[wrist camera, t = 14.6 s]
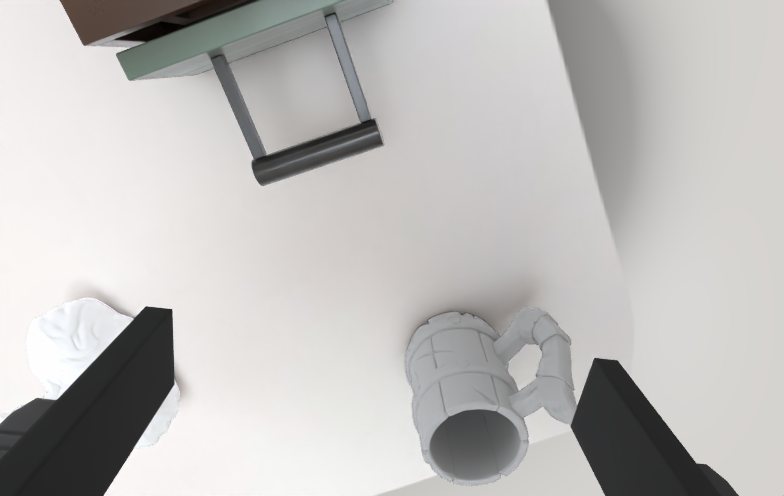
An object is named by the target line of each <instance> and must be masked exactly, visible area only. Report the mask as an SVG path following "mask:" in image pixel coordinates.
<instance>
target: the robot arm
mask: <svg viewBox="0 0 784 496" xmlns="http://www.w3.org/2000/svg"><path fill="white" fill-rule="evenodd" d="M174 385H175V382H174V350H173V318H172V309H165V308H156V307H147V306H146V307H145V308H144V309H143V310H142V311H141V312H140V313H139V314H138V315H137V316H136V317H135V318H134V319H133V321H132V322H131V323H130V324H129V325H128V326H127V327H126V328H125V329H124V330H123V331H122V332H121V333H120V334H119V335H118V336H117V337H116V338H115V339H114V340H113V341H112V343H111V344H110V345H109V346H108V347H107V348H106V349H105V350H104V351H103V352H102V353H101V354H100V355H99V356H98V357H97V358H96V359H95V360H94V361H93V362H92V363H91V365H90V366H89V367H88V368H87V369H86V370H85V371H84V372H83V373H82V374H81V375H80V376H79V377H78V378H77V379H76V380H75V381H74V382H73V383H72V384H71V385H70V386H69V388H68V389H67V390H66V391H65V392H64V393H63V394H62V395H61V396H60V397H59V398H58V399H57V400H51V399H42V398H36V399H34V400H33V401H31V402H29V403H27V404H26V405H24V406H22V407H20V408H19V409H17V410H15V411H13V412H12V413H11V414H10V415H9V416H8V417H7V418H6V419H4V420H3V421H2V422H1V423H0V496H104V494H105V492H106V491H107V489H108V488H109V486H110V485H111V483H112V481H113V480H114V478H115V477H116V475H117V474H118V472H119V471H120V469H121V467H122V466H123V464H124V463H125V461H126V460H127V458H128V456H129V455H130V453H131V452H132V450H133V449H134V447H135V446H136V444H137V442H138V441H139V439H140V438H141V436H142V435H143V433H144V431H145V430H146V428H147V427H148V425H149V424H150V422H151V421H152V419H153V417H154V416H155V414H156V413H157V411H158V410H159V408H160V407H161V405H162V403H163V402H164V400H165V399H166V397H167V396H168V394H169V392H170V391H171V389H172V388H173V386H174ZM571 428H572V430H573V432H574V434H575V436H576V438H577V440H578V442H579V444H580V446H581V448H582V450H583V452H584V454H585V456H586V458H587V460H588V462H589V464H590V466H591V468H592V470H593V472H594V474H595V476H596V478H597V480H598V482H599V484H600V486H601V488H602V490H603V492H604V494H605V496H738V494H737V493H736V492H735V491H734V489H733V488H732V487H731V486H730V485H729V483H728V482H727V481H726V480H725V479H724V478H722V477H721V476H720V475H719V474H717V473H716V472H715V471H714V470H713V469H711V468H710V467H709V466H708V465H706V464H696V463H695V461H694V460H693V458H692V457H691V456H690V454H689V453H688V452H687V450H686V449H685V448H684V447H683V445H682V444H681V443H680V442H679V440H678V439H677V438H676V436H675V435H674V434H673V432H672V431H671V430H670V428H669V427H668V426H667V424H666V423H665V422H664V421H663V420H662V418H661V417H660V415H659V414H658V413H657V411H656V410H655V409H654V407H653V406H652V405H651V404H650V402H649V401H648V400H647V398H646V397H645V396H644V394H643V393H642V392H641V390H640V389H639V388H638V387H637V385H636V384H635V383H634V381H633V380H632V379H631V377H630V376H629V375H628V373H627V372H626V371H625V370H624V368H623V367H622V366H621V364H620V363H619V362H618V361H617V360H608V359H599V358H594V361H593V363H592V366H591V369H590V372H589V375H588V378H587V380H586V383H585V386H584V389H583V392H582V395H581V397H580V400H579V403H578V406H577V409H576V411H575V414H574V417H573V420H572V423H571Z"/></svg>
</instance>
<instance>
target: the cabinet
mask: <svg viewBox="0 0 784 496" xmlns="http://www.w3.org/2000/svg"><path fill="white" fill-rule="evenodd" d="M213 1H215V0H60V2H61V3H62V5H63V7H64V9H65V11H66V13H67V15H68V17H69V19H70V21H71V23H72V24H73V26H74V28H75V30H76V32H77V34H78V36H79V38H80V40H81V42H82V44H83V45H84V46H110V47H135V46H137V45H140V44H143V43H145V42H148V41H151V40H153V39H156V38H159V37H161V36H164V35H166V34H169V33H172V32H174V31H177V30H180V29H182V28H185V27H187V26H190V25H193V24H195V23H198V22H201V21H203V20H206V19H209V18H211V17H214V16H216V15H219V14H222V13H224V12H227V11H230V10H232V9H235V8H237V7H240V6H243V5H245V4H248V3H251V2H253V1H256V0H249V1H246V2H243V3H241V4H238V5H236V6H233V7H230V8H228V9H225V10H222V11H220V12H217V13H215V14H212V15H209V16H207V17H204V18H201V19H199V20H196V21H194V22H191V23H188V24H186V25H181V24H175V23H169V22H163V20H166V19H168V18H171V17H173V16H176V15H179V14H181V13H184V12H186V11H189V10H192V9H194V8H197V7H199V6H202V5H205V4H207V3H210V2H213Z"/></svg>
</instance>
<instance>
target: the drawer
mask: <svg viewBox="0 0 784 496" xmlns="http://www.w3.org/2000/svg"><path fill="white" fill-rule="evenodd" d="M246 1H249V0H215V1H213V2H210V3H207V4H205V5H202V6H199V7H197V8H194V9H192V10H189V11H186V12H184V13H181V14H179V15H176V16H173V17H171V18H168V19H166V20H163V22H169V23H175V24H181V25H186V24H188V23H191V22H194V21H196V20H199V19H201V18H204V17H207V16H209V15H212V14H215V13H217V12H220V11H222V10H225V9H228V8H230V7H233V6H236V5H238V4H241V3H243V2H246ZM392 2H393V0H256V1H253V2H251V3H248V4H245V5H243V6H240V7H237V8H235V9H232V10H230V11H227V12H224V13H222V14H219V15H216V16H214V17H211V18H209V19H206V20H203V21H201V22H198V23H195V24H193V25H190V26H187V27H185V28H182V29H180V30H177V31H174V32H172V33H169V34H166V35H164V36H161V37H159V38H156V39H153V40H151V41H148V42H145V43H143V44H140V45H137V46H135V47H132V48H130V49H127V50H124V51H122V52H119V53H117V54H116V56H117V58H118V60H119V62H120V64H121V66H122V68H123V70H124V72H125V74H126V76H127V78H128V80H130V81H132V80H144V79H156V78H168V77H180V76H192V75H197V74H200V73H202V72H205V71H208V70H211V69H213V68H214V69H215V71H216V73H217V76H218V78H219V80H220V82H221V85H222V87H223V89H224V92H225V94H226V96H227V98H228V101H229V103H230V105H231V108H232V110H233V112H234V114H235V117H236V119H237V121H238V124H239V126H240V128H241V130H242V133H243V135H244V137H245V140H246V142H247V144H248V146H249V149H250V151H251V153H252V156H253V158H254V159H253V160H252V170H253V173H254V176H255V178H256V180H257V181H258V183H259V184H260V185H262V186H265V185H268V184H271V183H274V182H277V181H280V180H283V179H286V178H289V177H292V176H295V175H298V174H301V173H304V172H307V171H310V170H313V169H316V168H319V167H322V166H325V165H328V164H331V163H334V162H337V161H340V160H343V159H346V158H349V157H352V156H355V155H358V154H361V153H364V152H367V151H370V150H373V149H376V148H379V147H382V146H384V141H383V137H382V134H381V131H380V128H379V125H378V122H377V120H376V118H373V119H371V114H370V111H369V108H368V105H367V102H366V99H365V96H364V93H363V90H362V87H361V84H360V81H359V78H358V75H357V72H356V69H355V66H354V63H353V61H352V58H351V55H350V52H349V49H348V46H347V43H346V40H345V37H344V34H343V31H342V28H341V25H340V22H341V21H344V20H347V19H349V18H352V17H355V16H358V15H360V14H363V13H366V12H368V11H371V10H374V9H377V8H379V7H382V6H385V5H388V4H390V3H392ZM325 27H328V30H329V33H330V36H331V38H332V41H333V44H334V47H335V50H336V53H337V56H338V59H339V62H340V65H341V67H342V70H343V73H344V76H345V79H346V82H347V85H348V88H349V91H350V94H351V96H352V99H353V102H354V105H355V108H356V111H357V114H358V117H359V120H360V122H361V123H358V124H355V125H353V126H350V127H347V128H344V129H341V130H338V131H335V132H332V133H329V134H326V135H323V136H320V137H317V138H315V139H312V140H309V141H306V142H303V143H300V144H297V145H294V146H291V147H288V148H285V149H282V150H279V151H277V152H274V153H271V154H268V155H266V154H267V153H266V151H265V149H264V146H263V144H262V142H261V139H260V137H259V135H258V132H257V130H256V128H255V125H254V123H253V121H252V118H251V116H250V114H249V111H248V109H247V106H246V104H245V102H244V99H243V97H242V95H241V92H240V90H239V88H238V85H237V83H236V81H235V78H234V76H233V74H232V71H231V69H230V67H229V64H228V63H230V62H232V61H235V60H238V59H241V58H243V57H246V56H249V55H251V54H254V53H257V52H260V51H262V50H265V49H268V48H271V47H273V46H276V45H279V44H281V43H284V42H287V41H290V40H292V39H295V38H298V37H300V36H303V35H306V34H309V33H311V32H314V31H317V30H320V29H322V28H325Z"/></svg>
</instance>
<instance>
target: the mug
mask: <svg viewBox="0 0 784 496" xmlns="http://www.w3.org/2000/svg"><path fill="white" fill-rule="evenodd" d="M428 322H429V324H425V325H422V326H420V327H419V328H418V329H417V330H416V332H415V333H414V335H413V336H412V338H411V341H410V344H409V346H408V348H407V351H406V356H405V372H406V377H407V380H408V382H409V384H410V386H411V388H412V390H413V400H412V416H413V422H414V425H415V428H416V430H417V432H418V434H419V437H420V444H421V451H422V455H423V458H424V460H425V462H426V463H428V464H430V466H431V468H432V470H433V471H434V472H435V473H437V474H438V475H439V476H440V477H441V478H444V479H445V480H447V481H449V482H451V481H452V482H453V483H454V484H458V485H466V486H473V485H474V486H475V485H483V484H488V483H492V482H495V481H496V480H498V479H500V478H501V475H500V474H502V475H504V476H507V475H509V474H510V473H511V472H512V471H514V470H515V469H516V468H517V467H518V465H519V464H520V463H521V462H522V460H523V458H524V457H525V455H526V452H527V448H528V443H529V441H528V431H527V428H526V425H525V422H524V419H523V418H524V417H526V416H527V415H529V414H531V413H533V412H535V411H537V410H538V409H539V408H541V407H542V406H543V407H544V408H545V409H546V410H547V412H548V413H549V414H550V415H551V416H552V417H553V418H555V419H556V420H559V421H561V422H563V423H566V424H571V423H572V420H573V417H574V414H575V411H576V409H577V405H576V401H575V397H574V393H573V390H574V385H573V380H572V373H571V351H570V345H571V339H570V337H569V336H568V335H567V334H566V333H565V332H564V331H563V330H562V329H561V328H560V327H558V324H557V322H556V321H555V320H554V319H553V318H552V317H551V316H550V315H549V314H548V313H547V312H545V311H543V310H541V309H539V308H533V309H531V308H529V307H526V306H525V307H522V308H521V309H520V310H519V311H518V313H517V314H516V316H515V318H514V320H513V322H512V323H511V325H510V326H509V328H508V329H507V330H506V331H505V333H504V334H503V335H502V336H501V337H500V336H499V335H498V334H497V333H496V331H494V330H493V329H492V328H491V327H490V326H489V325H488V324H487V323H486V322H485V321H484V320H482V319H480V318H479V317H477V316H474V318H473V315H471V314H468V313H465V314H463V315H460V313H459V312H448V313H443V314H440V315H437V316H434V317H432V318H431V319H429V320H428ZM526 343H527V344H537V345H539V347H540V349H541V351H542V359H541V360H540V363H539V367H538V371H537V373H536V377H537V378H536V379H535V380H534V381H533V382H532V383H530V384H529V385H528V386H526V387H525V388H523V389H522V390H520V391H518V388H517V386H516V382H515V381H514V379H513V377H512V376H510V375H509V372H508V361H509V360H510V359H511V358H512V357H513V356H514V355H515V354H516V353H518V352H519V350H520V349H521V348H522V347H523V346H524V345H525V344H526Z"/></svg>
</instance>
